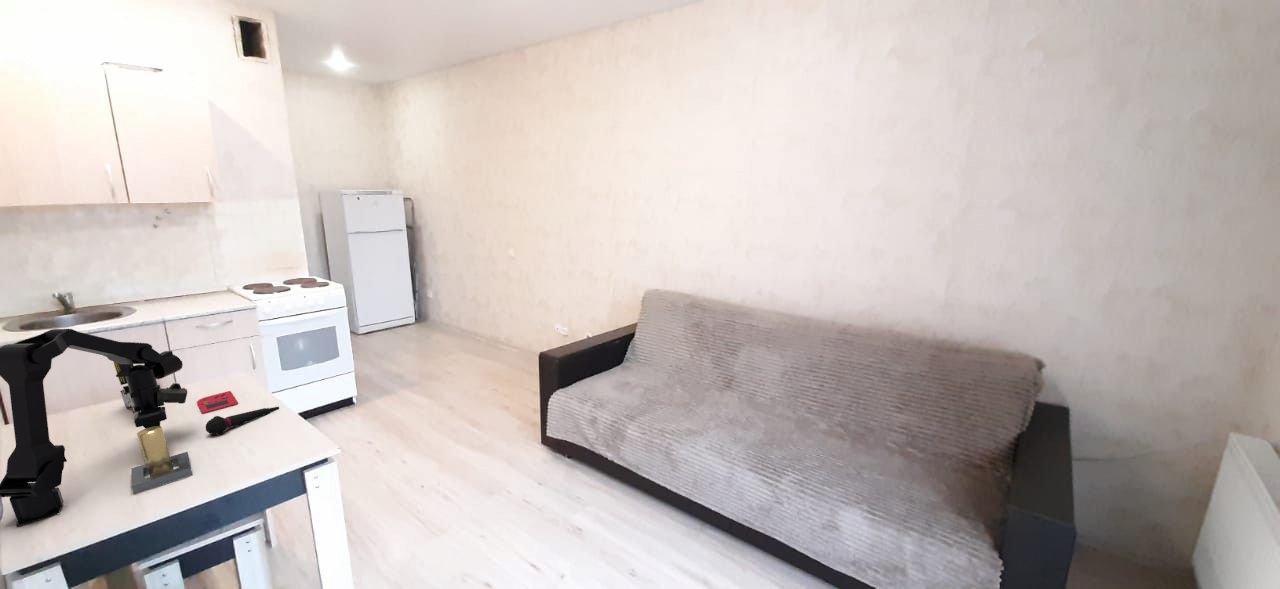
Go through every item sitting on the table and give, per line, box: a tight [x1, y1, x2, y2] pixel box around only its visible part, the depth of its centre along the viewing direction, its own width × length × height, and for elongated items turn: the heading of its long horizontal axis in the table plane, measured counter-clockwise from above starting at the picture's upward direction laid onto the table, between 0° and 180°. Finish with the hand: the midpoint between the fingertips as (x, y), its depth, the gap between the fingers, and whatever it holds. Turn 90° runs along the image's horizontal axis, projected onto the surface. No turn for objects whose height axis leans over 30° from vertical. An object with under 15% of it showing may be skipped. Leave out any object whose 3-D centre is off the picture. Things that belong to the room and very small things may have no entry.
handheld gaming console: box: [196, 390, 239, 415], centre depth 172 cm, size 10×1×15 cm
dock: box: [130, 451, 193, 495], centre depth 130 cm, size 11×11×2 cm
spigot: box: [136, 425, 175, 477], centre depth 129 cm, size 5×5×13 cm
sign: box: [113, 362, 140, 417], centre depth 163 cm, size 22×3×20 cm, turn 53°
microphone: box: [205, 406, 280, 436], centre depth 157 cm, size 6×6×20 cm
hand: (157, 435), depth 145 cm, fingers closed
